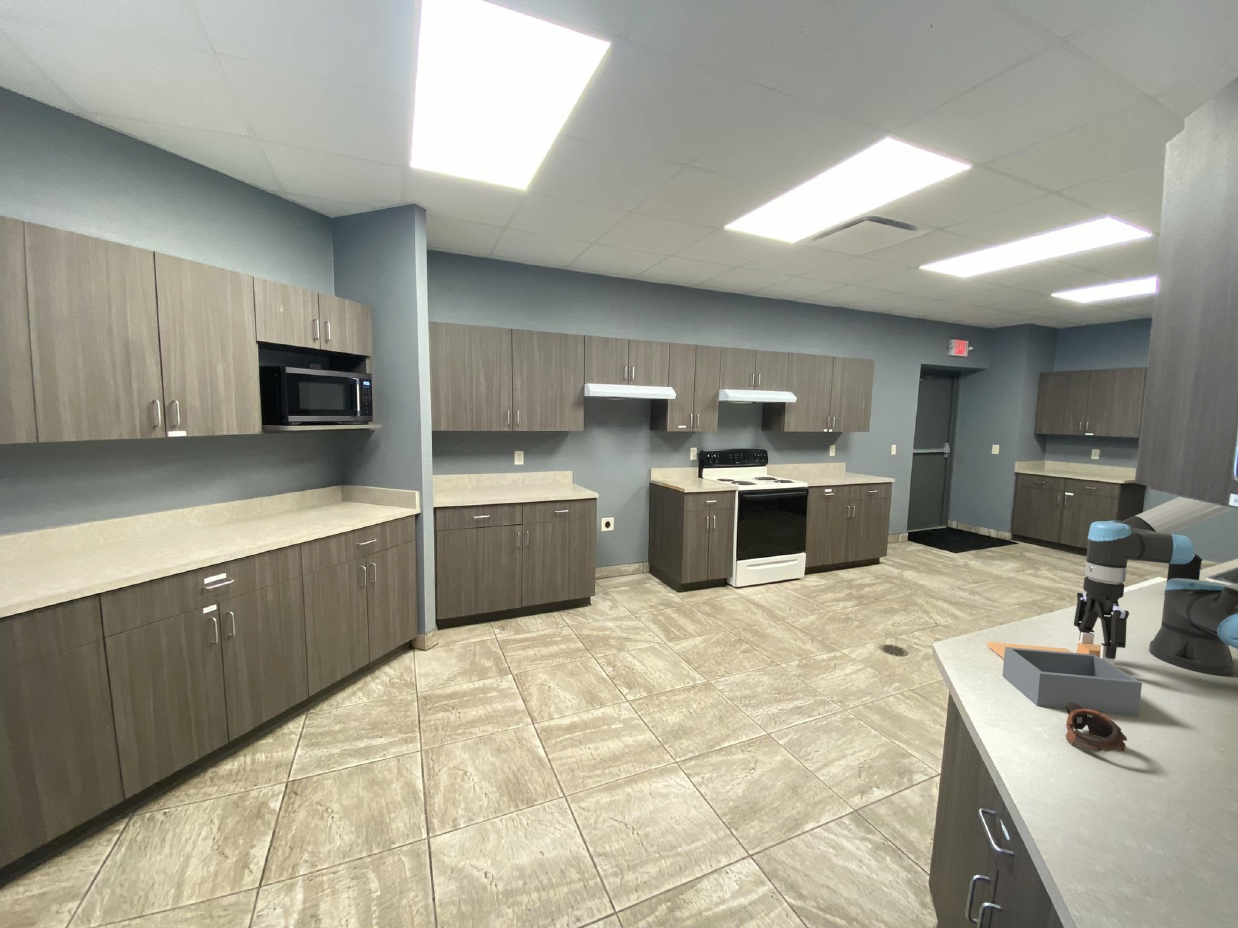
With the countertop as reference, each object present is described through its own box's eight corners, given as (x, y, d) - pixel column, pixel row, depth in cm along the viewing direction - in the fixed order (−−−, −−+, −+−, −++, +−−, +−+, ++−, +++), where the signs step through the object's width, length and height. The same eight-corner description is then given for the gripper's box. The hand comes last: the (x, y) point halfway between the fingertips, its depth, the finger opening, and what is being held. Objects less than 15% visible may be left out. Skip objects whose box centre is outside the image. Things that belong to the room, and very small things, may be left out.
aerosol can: (1178, 600, 175) (1185, 548, 174) (1157, 592, 183) (1163, 542, 182) (1204, 602, 174) (1211, 549, 172) (1182, 593, 182) (1188, 544, 180)
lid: (1086, 656, 133) (1088, 637, 132) (1126, 681, 120) (1128, 660, 120) (987, 648, 137) (988, 629, 137) (1015, 671, 125) (1017, 650, 124)
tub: (1091, 684, 118) (1094, 654, 117) (1138, 716, 105) (1142, 682, 105) (1002, 676, 122) (1005, 646, 121) (1036, 705, 109) (1040, 673, 108)
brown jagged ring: (1144, 763, 91) (1139, 736, 89) (1093, 778, 93) (1087, 751, 91) (1088, 712, 103) (1082, 686, 100) (1043, 725, 104) (1036, 700, 102)
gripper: (1061, 567, 135) (1053, 643, 137) (1118, 591, 116) (1108, 679, 118) (1091, 569, 133) (1083, 646, 136) (1154, 593, 115) (1143, 682, 117)
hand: (1095, 661), depth 127 cm, fingers open, 6 cm apart
